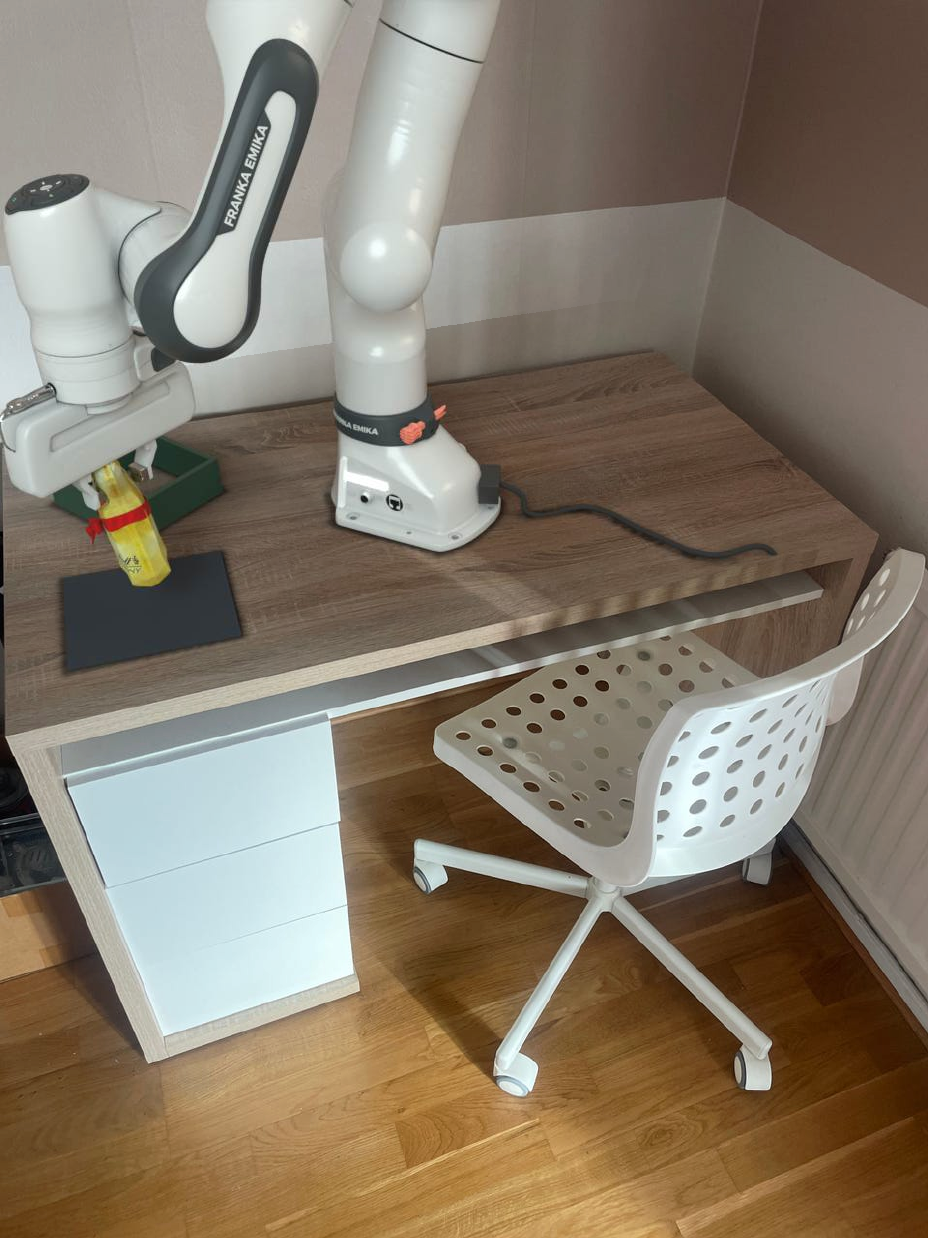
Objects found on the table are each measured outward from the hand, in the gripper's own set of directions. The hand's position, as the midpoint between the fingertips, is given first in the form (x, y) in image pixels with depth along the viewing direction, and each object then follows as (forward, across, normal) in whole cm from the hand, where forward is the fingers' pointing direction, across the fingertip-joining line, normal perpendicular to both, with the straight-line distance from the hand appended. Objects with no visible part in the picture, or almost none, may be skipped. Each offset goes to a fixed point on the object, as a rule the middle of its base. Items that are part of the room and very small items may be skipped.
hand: (120, 492), depth 99 cm
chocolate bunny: (+9, 0, 0) cm, 9 cm away
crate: (+15, +15, +18) cm, 28 cm away
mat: (+15, 0, 0) cm, 15 cm away
